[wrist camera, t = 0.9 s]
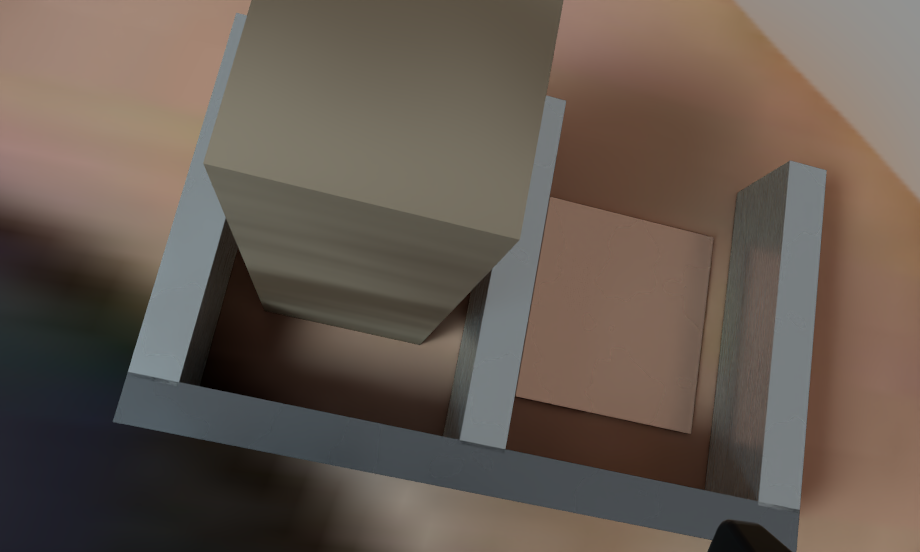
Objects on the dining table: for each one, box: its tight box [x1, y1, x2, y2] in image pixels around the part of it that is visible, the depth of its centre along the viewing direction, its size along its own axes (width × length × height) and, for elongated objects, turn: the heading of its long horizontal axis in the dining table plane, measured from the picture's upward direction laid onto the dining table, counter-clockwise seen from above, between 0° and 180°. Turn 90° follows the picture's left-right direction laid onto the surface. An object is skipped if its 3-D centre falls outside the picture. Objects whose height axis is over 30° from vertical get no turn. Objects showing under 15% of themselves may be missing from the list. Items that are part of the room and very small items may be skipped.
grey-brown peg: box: [203, 0, 563, 345], centre depth 17 cm, size 5×5×12 cm
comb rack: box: [113, 13, 827, 552], centre depth 22 cm, size 11×18×3 cm, turn 79°
